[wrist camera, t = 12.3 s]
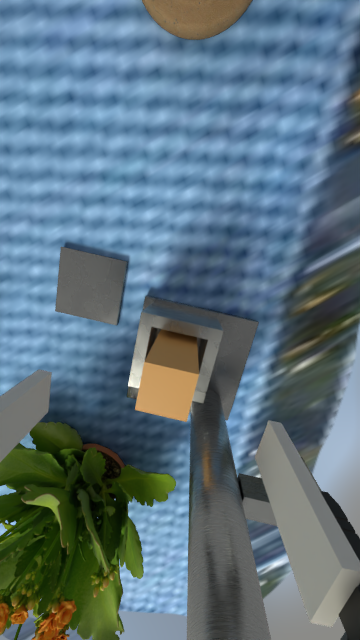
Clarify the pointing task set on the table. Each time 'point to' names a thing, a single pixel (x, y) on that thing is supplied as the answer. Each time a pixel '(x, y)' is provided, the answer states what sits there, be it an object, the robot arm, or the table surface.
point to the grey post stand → (214, 474)
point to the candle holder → (196, 16)
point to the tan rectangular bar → (169, 376)
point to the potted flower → (69, 533)
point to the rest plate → (90, 285)
